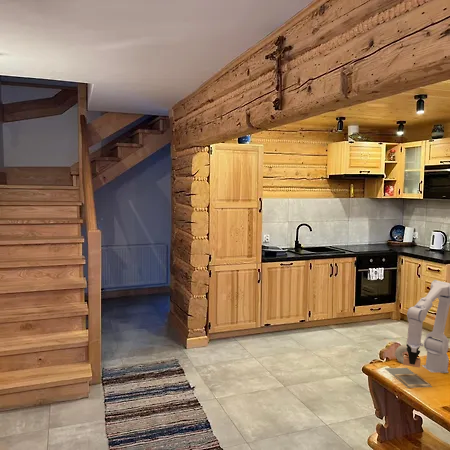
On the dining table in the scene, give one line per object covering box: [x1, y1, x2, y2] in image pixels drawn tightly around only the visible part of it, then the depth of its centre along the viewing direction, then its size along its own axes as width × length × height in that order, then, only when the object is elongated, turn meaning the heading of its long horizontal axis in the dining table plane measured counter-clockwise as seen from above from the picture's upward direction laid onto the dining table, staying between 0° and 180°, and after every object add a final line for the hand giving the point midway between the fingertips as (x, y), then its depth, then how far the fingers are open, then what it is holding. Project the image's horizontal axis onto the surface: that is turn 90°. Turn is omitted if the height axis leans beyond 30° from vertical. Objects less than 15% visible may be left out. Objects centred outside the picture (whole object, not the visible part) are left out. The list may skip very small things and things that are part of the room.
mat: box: [384, 367, 433, 389], centre depth 203 cm, size 12×20×1 cm, turn 9°
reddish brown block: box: [402, 355, 421, 369], centre depth 199 cm, size 7×4×3 cm, turn 68°
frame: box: [394, 373, 432, 388], centre depth 199 cm, size 11×11×1 cm
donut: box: [395, 344, 408, 364], centre depth 219 cm, size 10×4×10 cm, turn 66°
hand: (411, 362), depth 199 cm, fingers closed on reddish brown block, 4 cm apart
